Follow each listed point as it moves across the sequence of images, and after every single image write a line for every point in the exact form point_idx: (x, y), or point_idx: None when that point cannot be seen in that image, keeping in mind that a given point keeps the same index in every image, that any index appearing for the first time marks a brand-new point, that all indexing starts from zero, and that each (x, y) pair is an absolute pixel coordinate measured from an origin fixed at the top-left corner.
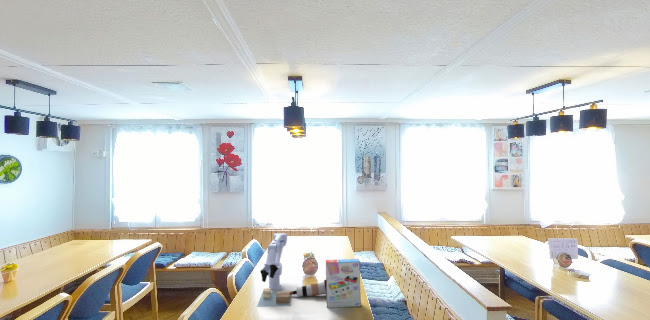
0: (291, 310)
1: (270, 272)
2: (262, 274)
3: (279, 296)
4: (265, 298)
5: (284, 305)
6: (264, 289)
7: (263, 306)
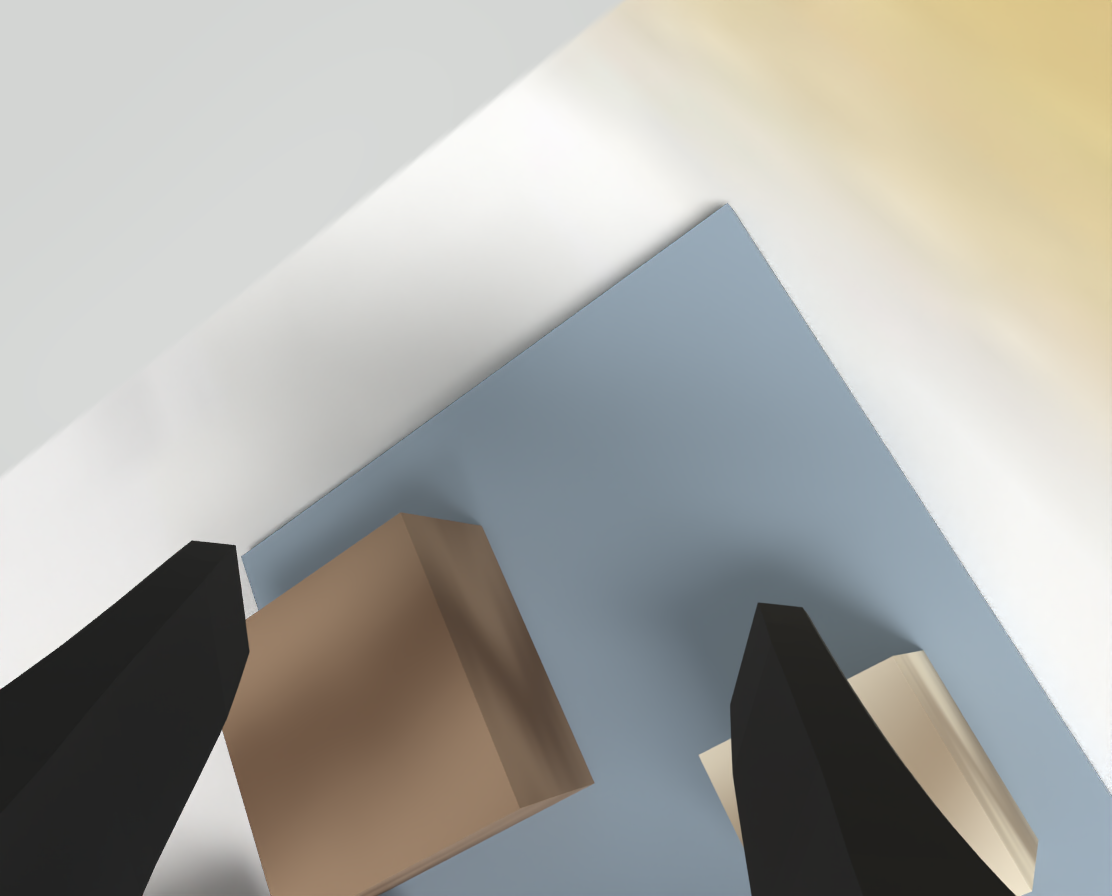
0: (200, 460)
1: (103, 660)
2: (876, 845)
3: (350, 570)
4: (843, 653)
5: (320, 524)
6: (937, 795)
7: (617, 292)
